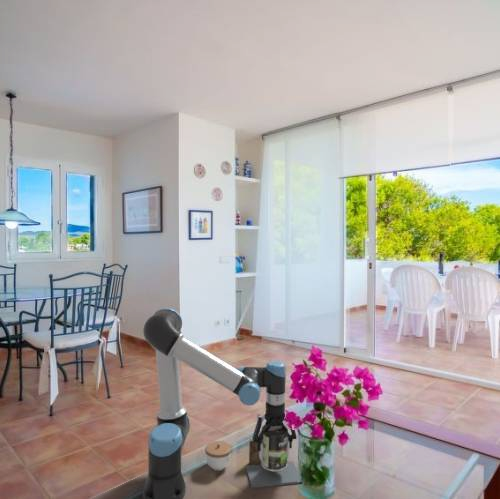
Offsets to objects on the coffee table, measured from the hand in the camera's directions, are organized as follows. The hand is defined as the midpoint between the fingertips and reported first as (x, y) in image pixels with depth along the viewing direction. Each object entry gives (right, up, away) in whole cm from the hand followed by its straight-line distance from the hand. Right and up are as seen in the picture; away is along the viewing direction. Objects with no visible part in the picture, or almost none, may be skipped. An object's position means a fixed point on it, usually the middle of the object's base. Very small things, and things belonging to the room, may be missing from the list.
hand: (274, 457), depth 158 cm
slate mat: (0, -7, 0) cm, 7 cm away
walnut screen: (-2, -7, +9) cm, 12 cm away
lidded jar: (-23, -7, +5) cm, 24 cm away
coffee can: (0, -3, 0) cm, 3 cm away
